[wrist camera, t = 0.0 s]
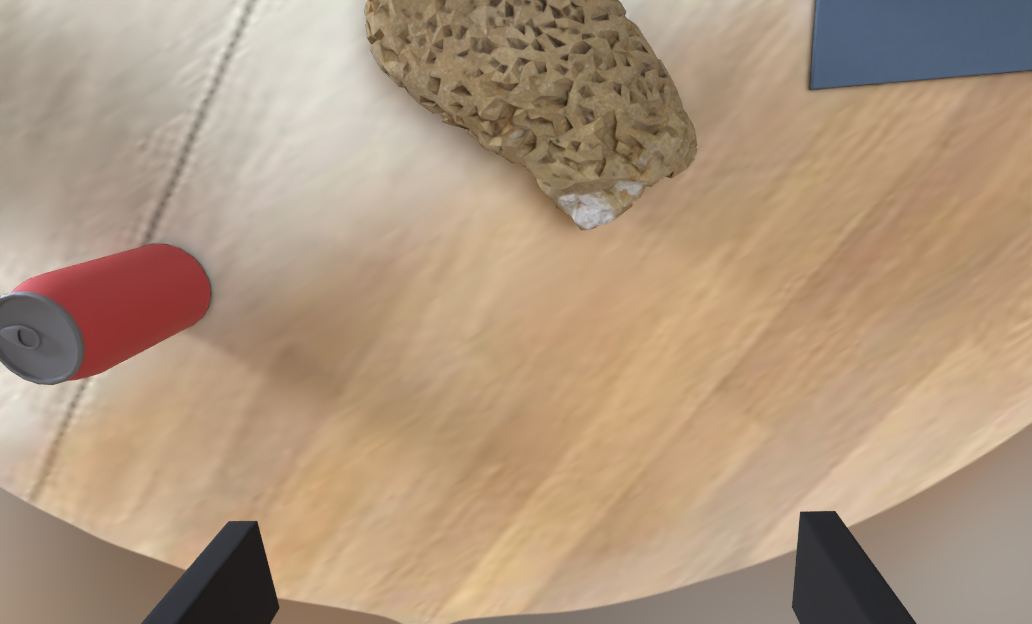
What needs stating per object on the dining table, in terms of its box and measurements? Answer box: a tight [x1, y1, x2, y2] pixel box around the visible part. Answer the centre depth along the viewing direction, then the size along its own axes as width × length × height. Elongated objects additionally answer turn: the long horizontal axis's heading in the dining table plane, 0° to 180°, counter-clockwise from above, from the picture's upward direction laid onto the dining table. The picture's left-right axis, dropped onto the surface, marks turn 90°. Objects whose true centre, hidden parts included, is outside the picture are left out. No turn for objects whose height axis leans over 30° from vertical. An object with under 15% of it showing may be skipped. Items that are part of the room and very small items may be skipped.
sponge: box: [364, 0, 697, 230], centre depth 33 cm, size 13×8×20 cm
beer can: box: [0, 244, 211, 385], centre depth 37 cm, size 7×7×12 cm
